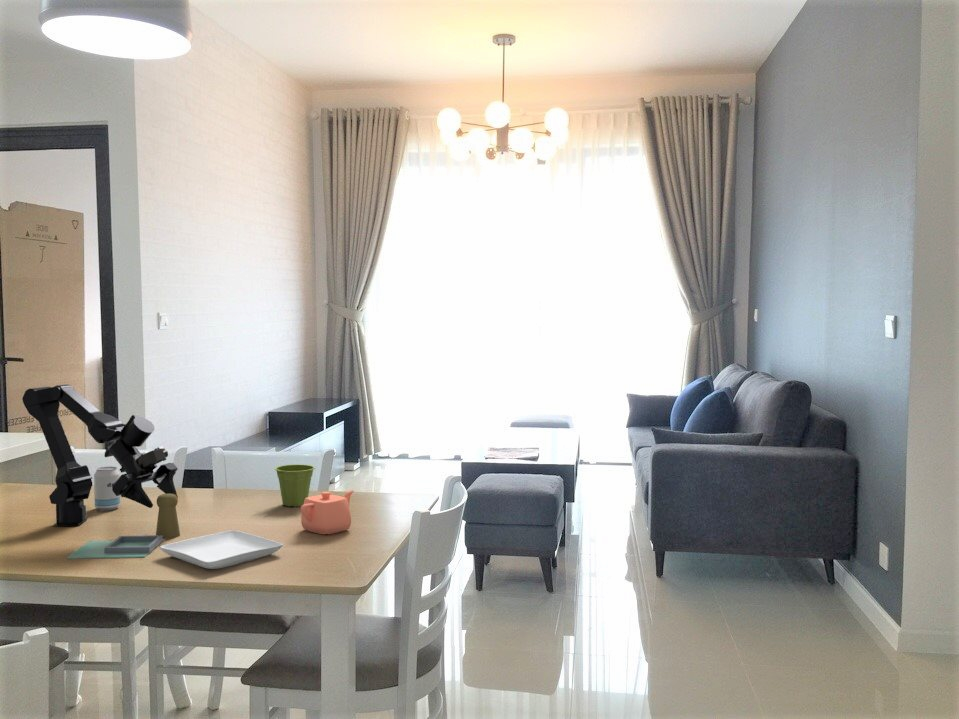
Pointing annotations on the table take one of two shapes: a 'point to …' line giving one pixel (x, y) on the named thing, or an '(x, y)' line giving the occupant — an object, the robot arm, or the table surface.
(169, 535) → the cork
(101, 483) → the beverage can
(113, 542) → the board
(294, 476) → the plant pot
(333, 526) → the teapot
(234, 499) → the table surface
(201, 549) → the salad plate
